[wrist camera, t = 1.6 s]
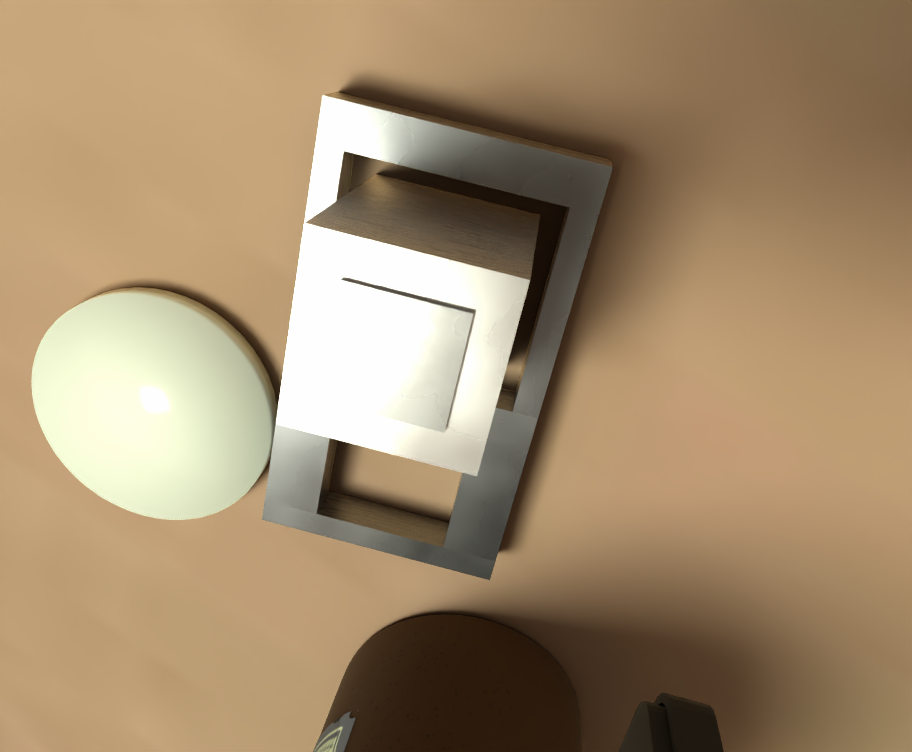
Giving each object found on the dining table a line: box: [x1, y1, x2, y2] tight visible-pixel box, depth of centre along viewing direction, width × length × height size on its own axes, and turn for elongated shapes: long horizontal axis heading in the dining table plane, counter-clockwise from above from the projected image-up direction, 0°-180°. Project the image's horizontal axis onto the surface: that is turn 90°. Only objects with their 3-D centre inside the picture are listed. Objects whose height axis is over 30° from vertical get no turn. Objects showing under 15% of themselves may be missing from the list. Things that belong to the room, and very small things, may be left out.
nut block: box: [276, 174, 540, 476], centre depth 21 cm, size 5×5×7 cm
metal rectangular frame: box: [262, 92, 613, 580], centre depth 24 cm, size 14×8×2 cm, turn 167°
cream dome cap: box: [32, 287, 278, 520], centre depth 27 cm, size 8×8×1 cm
